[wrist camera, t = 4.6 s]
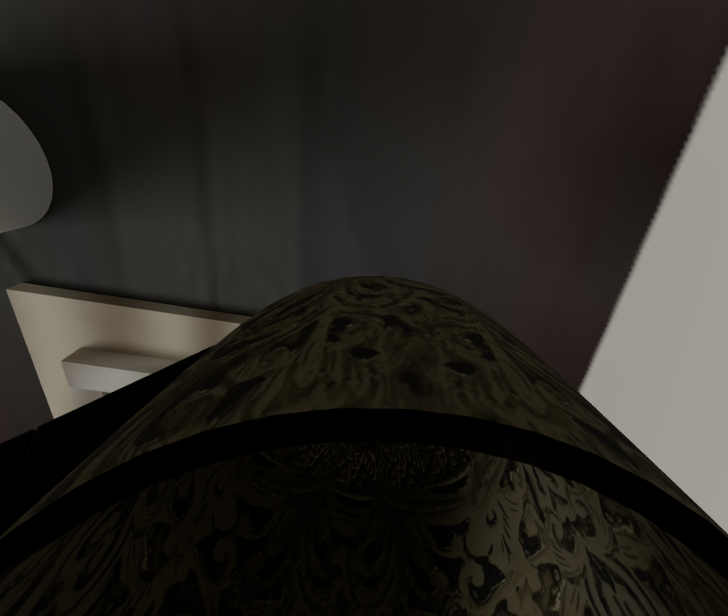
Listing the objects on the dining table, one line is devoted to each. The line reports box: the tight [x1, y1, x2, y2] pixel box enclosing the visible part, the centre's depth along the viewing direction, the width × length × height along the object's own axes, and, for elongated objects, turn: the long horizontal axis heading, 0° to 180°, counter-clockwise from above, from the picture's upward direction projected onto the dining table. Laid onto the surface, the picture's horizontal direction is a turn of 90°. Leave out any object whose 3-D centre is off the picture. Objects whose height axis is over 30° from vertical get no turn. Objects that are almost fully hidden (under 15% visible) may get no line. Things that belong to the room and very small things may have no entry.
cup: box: [0, 276, 728, 616], centre depth 6 cm, size 8×7×8 cm
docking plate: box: [6, 283, 250, 419], centre depth 24 cm, size 22×22×2 cm
